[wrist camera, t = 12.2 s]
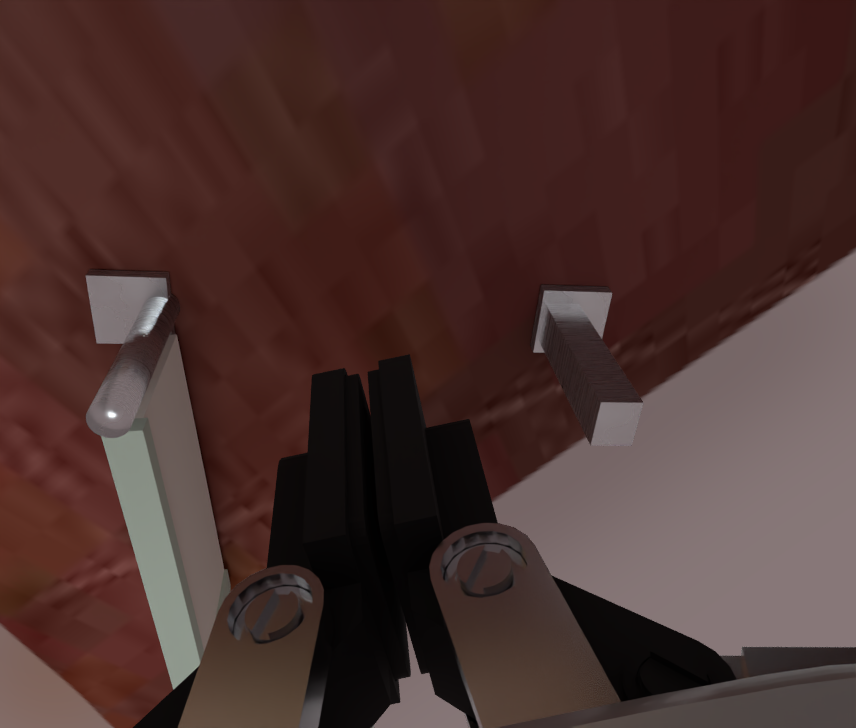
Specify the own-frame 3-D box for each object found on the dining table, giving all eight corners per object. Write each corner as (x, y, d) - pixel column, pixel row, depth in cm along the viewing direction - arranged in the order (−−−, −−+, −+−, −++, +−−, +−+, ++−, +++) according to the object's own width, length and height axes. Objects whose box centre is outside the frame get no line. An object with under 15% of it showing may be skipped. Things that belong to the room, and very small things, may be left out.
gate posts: (100, 336, 40) (28, 458, 31) (90, 269, 38) (9, 378, 29) (594, 347, 44) (663, 459, 35) (607, 286, 42) (685, 388, 33)
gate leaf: (146, 335, 40) (100, 433, 32) (180, 334, 40) (142, 430, 32) (203, 588, 49) (179, 708, 42) (230, 586, 50) (211, 706, 42)
